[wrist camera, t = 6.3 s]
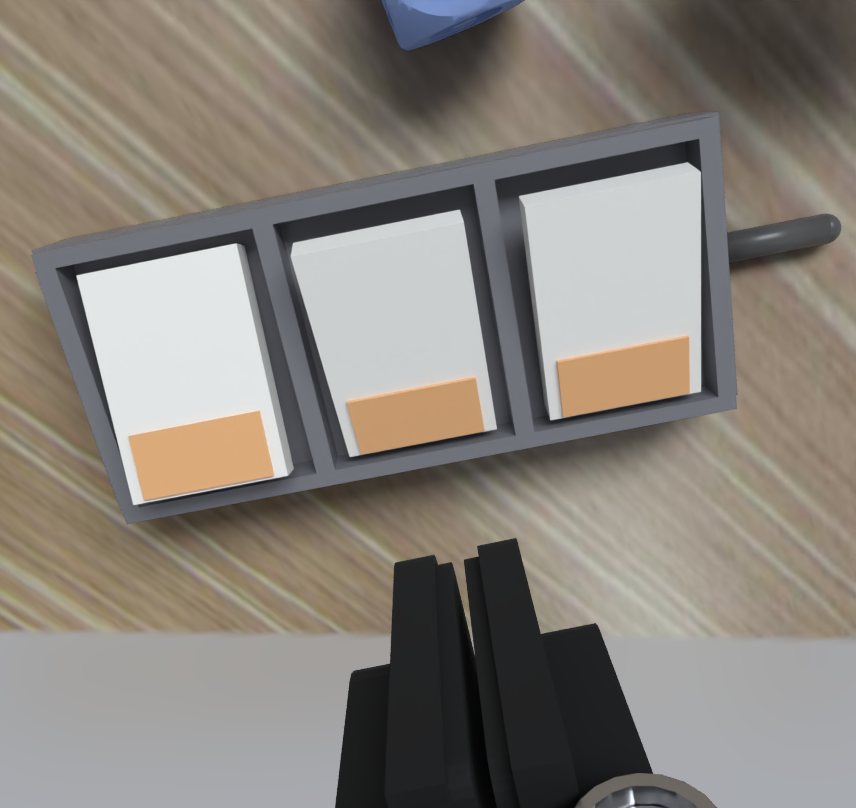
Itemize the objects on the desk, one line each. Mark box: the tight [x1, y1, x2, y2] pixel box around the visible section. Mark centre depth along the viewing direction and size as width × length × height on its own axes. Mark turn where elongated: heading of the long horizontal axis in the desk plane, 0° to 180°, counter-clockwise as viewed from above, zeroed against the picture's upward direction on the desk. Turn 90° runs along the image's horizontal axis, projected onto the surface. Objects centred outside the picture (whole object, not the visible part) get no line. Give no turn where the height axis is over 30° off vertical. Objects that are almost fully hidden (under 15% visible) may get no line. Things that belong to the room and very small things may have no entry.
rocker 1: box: [76, 243, 294, 505], centre depth 24 cm, size 5×7×1 cm
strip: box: [31, 112, 841, 524], centre depth 26 cm, size 26×9×4 cm, turn 101°
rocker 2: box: [519, 162, 701, 420], centre depth 24 cm, size 5×7×1 cm
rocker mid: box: [291, 210, 497, 457], centre depth 24 cm, size 5×7×1 cm
